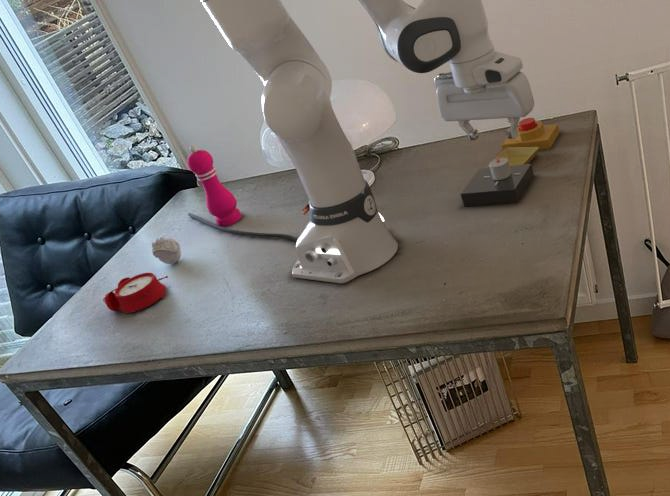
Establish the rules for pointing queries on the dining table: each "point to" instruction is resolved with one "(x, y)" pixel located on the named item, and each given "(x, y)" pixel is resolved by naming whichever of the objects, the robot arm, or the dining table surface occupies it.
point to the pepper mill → (213, 188)
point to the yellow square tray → (518, 155)
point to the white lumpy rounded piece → (166, 250)
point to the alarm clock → (135, 293)
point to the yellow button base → (534, 137)
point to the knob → (500, 168)
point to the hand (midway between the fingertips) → (493, 138)
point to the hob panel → (497, 187)
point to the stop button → (527, 124)
